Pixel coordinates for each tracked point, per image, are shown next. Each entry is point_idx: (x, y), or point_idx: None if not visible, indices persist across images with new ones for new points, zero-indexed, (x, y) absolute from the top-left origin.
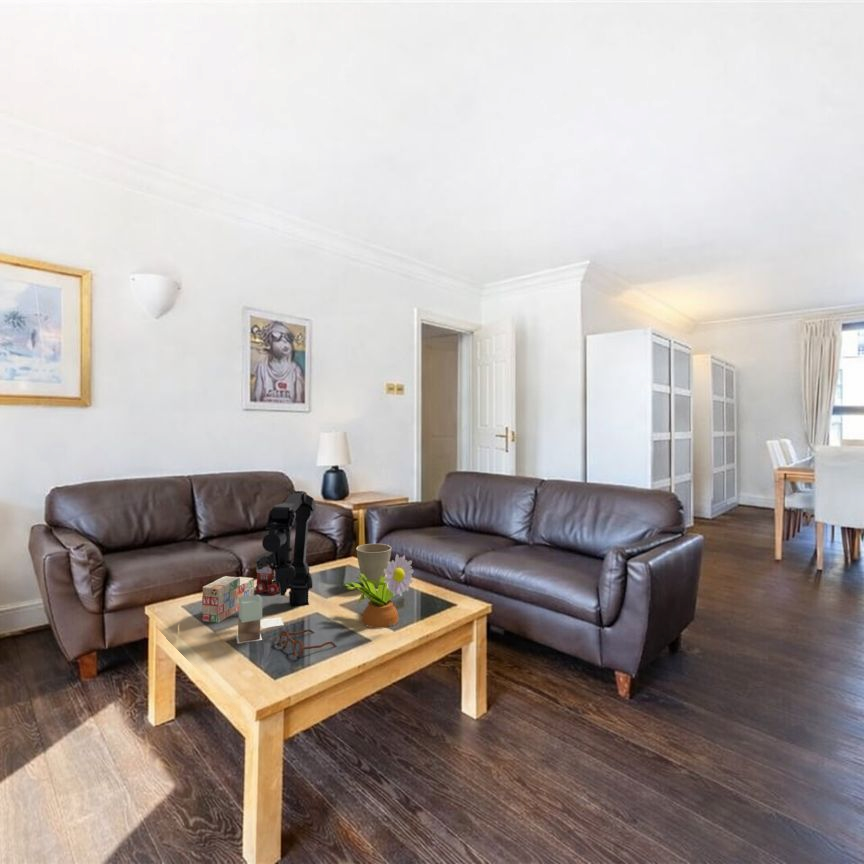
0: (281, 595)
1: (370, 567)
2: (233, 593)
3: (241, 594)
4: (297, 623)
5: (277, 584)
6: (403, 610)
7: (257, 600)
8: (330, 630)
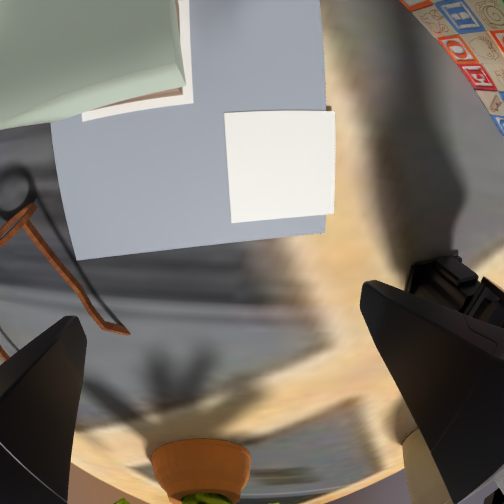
0: (65, 319)
1: (423, 477)
2: (497, 20)
3: None
4: (243, 279)
5: (375, 298)
6: (246, 485)
7: None
8: (144, 375)
